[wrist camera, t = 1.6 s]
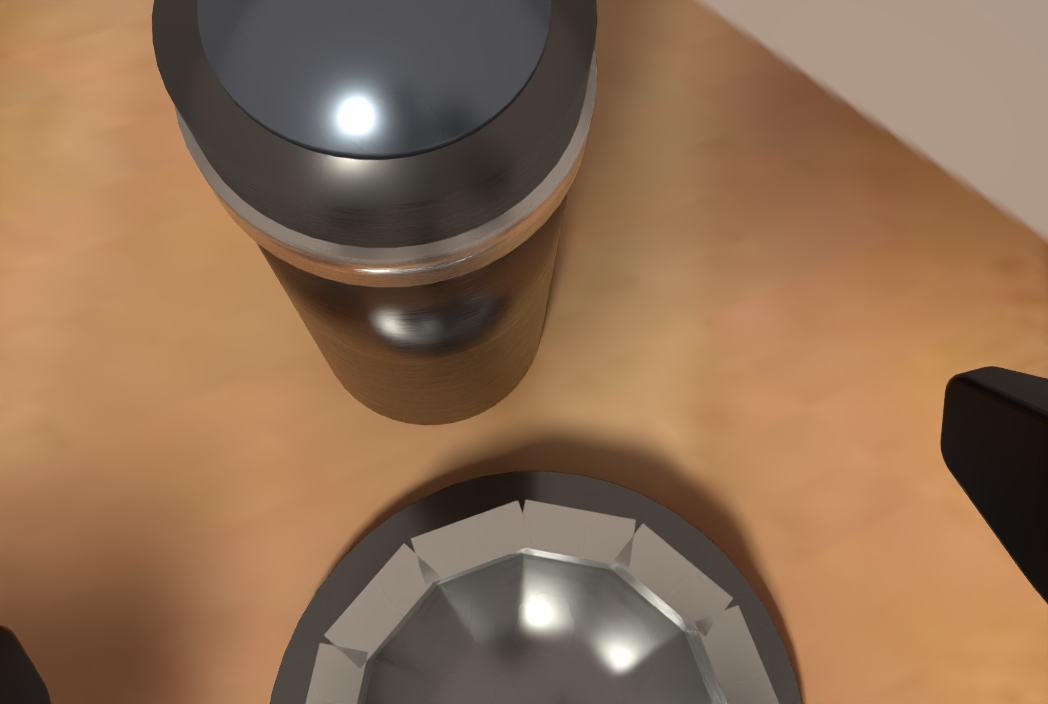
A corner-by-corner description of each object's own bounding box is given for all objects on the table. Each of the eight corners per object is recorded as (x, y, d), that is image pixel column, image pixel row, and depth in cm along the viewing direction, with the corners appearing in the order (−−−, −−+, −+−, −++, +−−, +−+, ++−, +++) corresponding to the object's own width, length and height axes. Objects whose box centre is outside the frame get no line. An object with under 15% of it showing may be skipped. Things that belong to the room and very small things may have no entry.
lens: (526, 451, 21) (570, 252, 10) (287, 407, 21) (67, 161, 10) (565, 233, 23) (639, -142, 12) (345, 193, 23) (212, -215, 12)
